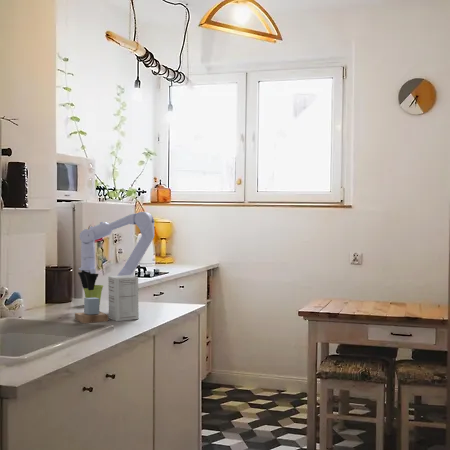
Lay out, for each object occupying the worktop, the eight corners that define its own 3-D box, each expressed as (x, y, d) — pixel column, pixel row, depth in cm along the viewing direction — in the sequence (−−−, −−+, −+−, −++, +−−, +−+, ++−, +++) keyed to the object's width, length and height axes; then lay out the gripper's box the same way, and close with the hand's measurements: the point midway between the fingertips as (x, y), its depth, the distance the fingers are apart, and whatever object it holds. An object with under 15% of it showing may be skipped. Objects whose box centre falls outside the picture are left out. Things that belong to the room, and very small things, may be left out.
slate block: (95, 312, 247) (95, 297, 247) (99, 313, 243) (99, 298, 243) (84, 313, 245) (84, 298, 245) (88, 314, 241) (88, 299, 241)
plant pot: (82, 303, 290) (82, 285, 290) (103, 303, 292) (103, 284, 292) (82, 306, 281) (82, 287, 281) (104, 305, 283) (104, 286, 283)
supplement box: (130, 316, 254) (130, 274, 254) (139, 319, 246) (139, 276, 246) (107, 318, 249) (107, 275, 249) (116, 321, 241) (116, 277, 241)
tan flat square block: (99, 318, 251) (99, 311, 251) (108, 322, 242) (108, 314, 242) (75, 320, 246) (75, 313, 246) (82, 324, 237) (82, 316, 237)
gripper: (73, 256, 271) (73, 288, 271) (84, 258, 259) (84, 291, 259) (89, 256, 275) (89, 287, 275) (100, 258, 262) (100, 290, 262)
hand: (88, 289), depth 267 cm, fingers open, 7 cm apart
